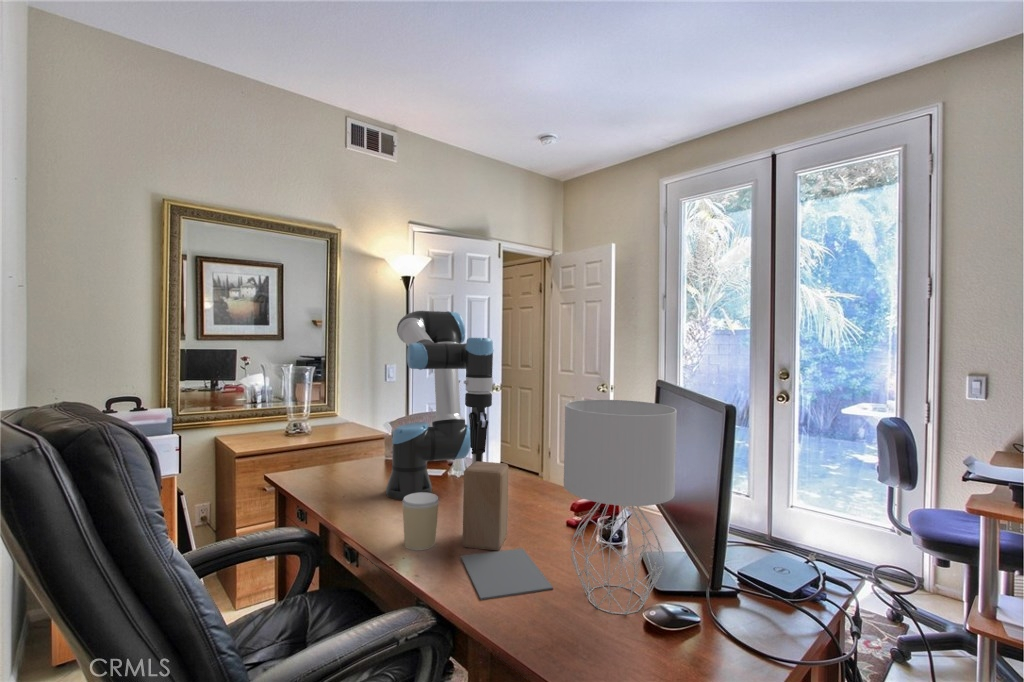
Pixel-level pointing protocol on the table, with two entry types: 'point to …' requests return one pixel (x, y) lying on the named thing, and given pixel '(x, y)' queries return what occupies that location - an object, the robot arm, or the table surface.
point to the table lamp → (619, 469)
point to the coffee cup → (420, 520)
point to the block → (485, 505)
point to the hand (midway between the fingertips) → (477, 475)
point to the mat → (504, 573)
